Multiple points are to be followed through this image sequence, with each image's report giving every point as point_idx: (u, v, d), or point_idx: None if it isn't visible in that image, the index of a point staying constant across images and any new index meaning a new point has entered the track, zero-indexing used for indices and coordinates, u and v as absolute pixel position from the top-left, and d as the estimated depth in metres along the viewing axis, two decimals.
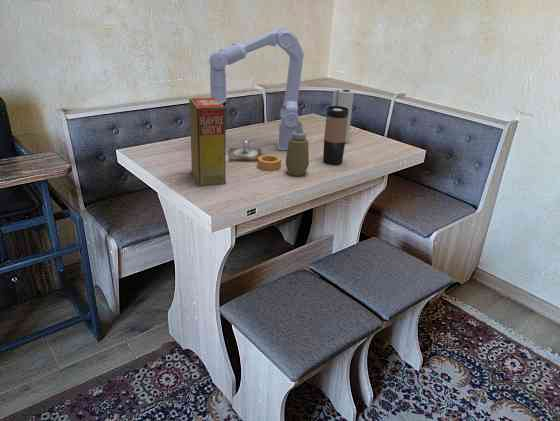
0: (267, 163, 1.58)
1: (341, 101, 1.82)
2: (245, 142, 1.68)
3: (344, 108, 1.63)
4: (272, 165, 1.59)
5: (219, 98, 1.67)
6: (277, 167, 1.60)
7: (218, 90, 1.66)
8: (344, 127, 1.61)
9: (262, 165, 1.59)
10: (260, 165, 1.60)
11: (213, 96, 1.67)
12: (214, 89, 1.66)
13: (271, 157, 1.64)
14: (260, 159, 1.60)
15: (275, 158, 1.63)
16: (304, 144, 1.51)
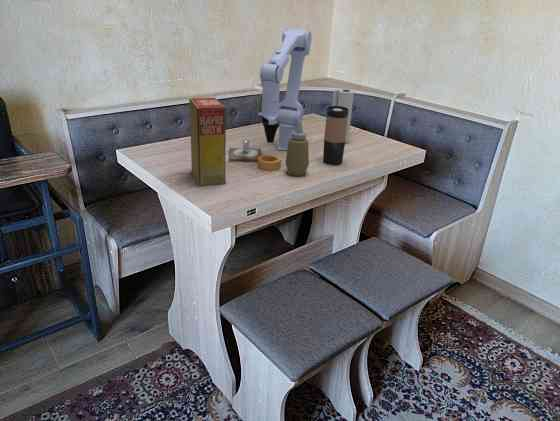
0: (267, 163, 1.58)
1: (341, 101, 1.82)
2: (245, 142, 1.68)
3: (344, 108, 1.63)
4: (272, 165, 1.59)
5: (272, 113, 1.55)
6: (277, 167, 1.60)
7: (271, 105, 1.54)
8: (344, 127, 1.61)
9: (262, 165, 1.59)
10: (260, 165, 1.60)
11: (265, 111, 1.55)
12: (267, 103, 1.54)
13: (271, 157, 1.64)
14: (260, 159, 1.60)
15: (275, 158, 1.63)
16: (304, 144, 1.51)
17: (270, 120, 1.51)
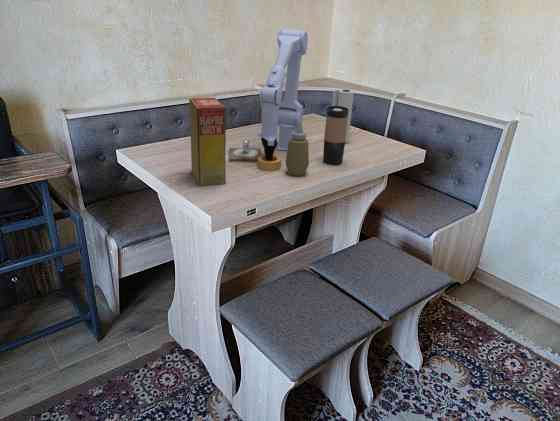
0: (267, 163, 1.58)
1: (341, 101, 1.82)
2: (245, 142, 1.68)
3: (344, 108, 1.63)
4: (272, 165, 1.59)
5: (271, 134, 1.58)
6: (277, 167, 1.60)
7: (270, 126, 1.57)
8: (344, 127, 1.61)
9: (262, 165, 1.59)
10: (260, 165, 1.60)
11: (265, 132, 1.58)
12: (266, 125, 1.57)
13: None
14: (260, 159, 1.60)
15: (275, 158, 1.63)
16: (304, 144, 1.51)
17: (269, 141, 1.55)
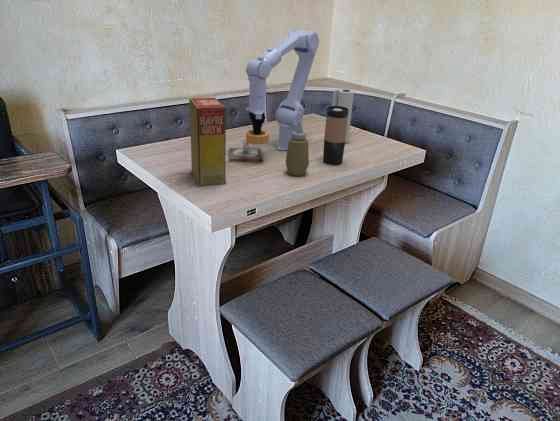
0: (255, 137, 1.59)
1: (341, 101, 1.82)
2: (245, 142, 1.68)
3: (344, 108, 1.63)
4: (260, 139, 1.60)
5: (259, 108, 1.59)
6: (265, 141, 1.61)
7: (258, 100, 1.58)
8: (344, 127, 1.61)
9: (250, 139, 1.60)
10: (248, 139, 1.61)
11: (252, 106, 1.59)
12: (254, 99, 1.58)
13: None
14: (248, 133, 1.62)
15: (263, 132, 1.65)
16: (304, 144, 1.51)
17: (257, 115, 1.56)
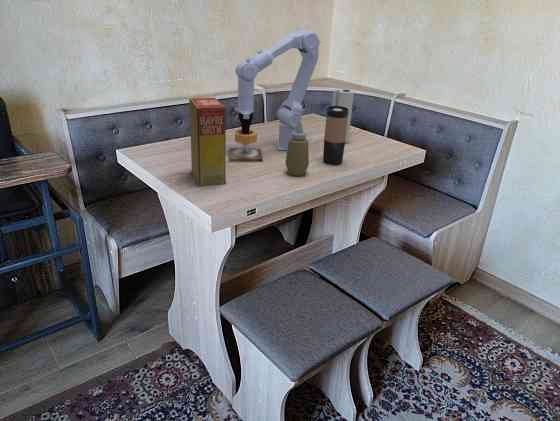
0: (243, 136, 1.64)
1: (341, 101, 1.82)
2: None
3: (344, 108, 1.63)
4: (248, 138, 1.65)
5: (247, 108, 1.64)
6: (253, 140, 1.66)
7: (246, 100, 1.63)
8: (344, 127, 1.61)
9: (238, 138, 1.65)
10: (236, 138, 1.66)
11: (241, 106, 1.64)
12: (242, 99, 1.63)
13: None
14: (236, 133, 1.67)
15: (251, 132, 1.70)
16: (304, 144, 1.51)
17: (245, 115, 1.61)
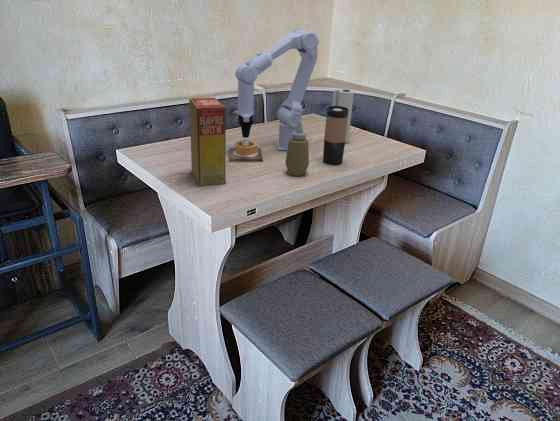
0: (243, 148, 1.67)
1: (341, 101, 1.82)
2: (245, 142, 1.68)
3: (344, 108, 1.63)
4: (248, 150, 1.68)
5: (247, 111, 1.65)
6: (253, 152, 1.69)
7: (246, 103, 1.64)
8: (344, 127, 1.61)
9: (238, 149, 1.68)
10: (237, 150, 1.69)
11: (241, 109, 1.65)
12: (242, 102, 1.63)
13: None
14: (237, 144, 1.70)
15: (252, 144, 1.73)
16: (304, 144, 1.51)
17: (245, 118, 1.61)
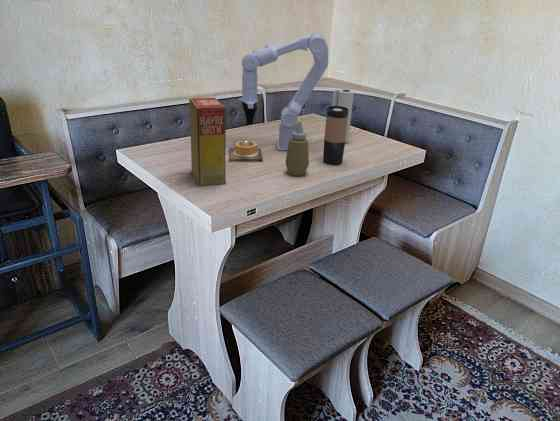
0: (243, 148, 1.67)
1: (341, 101, 1.82)
2: (245, 142, 1.68)
3: (344, 108, 1.63)
4: (248, 150, 1.68)
5: (251, 98, 1.71)
6: (253, 152, 1.69)
7: (250, 90, 1.70)
8: (344, 127, 1.61)
9: (238, 149, 1.68)
10: (237, 150, 1.69)
11: (245, 96, 1.71)
12: (246, 90, 1.70)
13: None
14: (237, 144, 1.70)
15: (252, 144, 1.73)
16: (304, 144, 1.51)
17: (249, 104, 1.68)
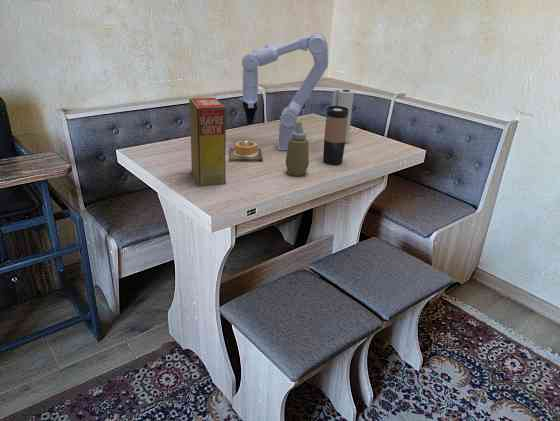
0: (243, 148, 1.67)
1: (341, 101, 1.82)
2: (245, 142, 1.68)
3: (344, 108, 1.63)
4: (248, 150, 1.68)
5: (251, 98, 1.72)
6: (253, 152, 1.69)
7: (250, 90, 1.71)
8: (344, 127, 1.61)
9: (238, 149, 1.68)
10: (237, 150, 1.69)
11: (245, 96, 1.72)
12: (247, 89, 1.71)
13: None
14: (237, 144, 1.70)
15: (252, 144, 1.73)
16: (304, 144, 1.51)
17: (249, 104, 1.69)
